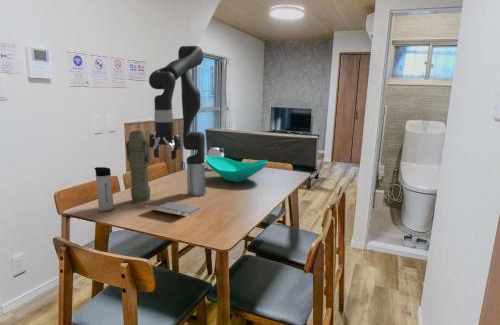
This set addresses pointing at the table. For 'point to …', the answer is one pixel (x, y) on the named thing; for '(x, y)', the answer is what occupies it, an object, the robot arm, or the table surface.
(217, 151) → the panda figurine
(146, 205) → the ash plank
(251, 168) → the table top decor
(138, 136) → the olive green canister
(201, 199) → the table surface
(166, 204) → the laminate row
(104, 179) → the travel mug
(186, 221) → the table surface
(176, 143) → the robot arm
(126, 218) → the table surface
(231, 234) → the table surface
